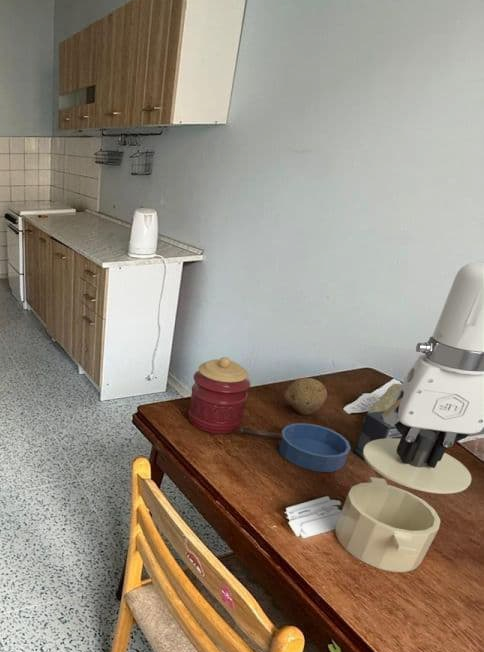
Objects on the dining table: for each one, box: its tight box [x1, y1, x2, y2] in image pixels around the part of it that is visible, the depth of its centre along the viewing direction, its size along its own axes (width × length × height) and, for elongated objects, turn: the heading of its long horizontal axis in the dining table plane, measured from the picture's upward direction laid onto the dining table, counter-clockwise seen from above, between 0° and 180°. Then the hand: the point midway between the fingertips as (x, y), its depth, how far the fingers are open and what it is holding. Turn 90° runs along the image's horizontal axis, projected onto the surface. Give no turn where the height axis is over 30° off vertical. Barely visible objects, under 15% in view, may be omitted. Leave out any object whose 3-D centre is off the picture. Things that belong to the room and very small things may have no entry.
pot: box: [334, 476, 442, 573], centre depth 81 cm, size 13×18×8 cm
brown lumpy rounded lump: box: [284, 377, 328, 416], centre depth 120 cm, size 9×9×10 cm
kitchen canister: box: [187, 356, 251, 435], centre depth 116 cm, size 13×13×18 cm
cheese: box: [363, 382, 402, 421], centre depth 115 cm, size 15×7×15 cm
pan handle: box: [237, 426, 282, 441], centre depth 109 cm, size 10×2×2 cm, turn 70°
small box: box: [352, 411, 429, 461], centre depth 103 cm, size 11×6×10 cm, turn 100°
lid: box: [363, 429, 472, 495], centre depth 74 cm, size 14×14×7 cm
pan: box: [277, 422, 352, 473], centre depth 106 cm, size 13×13×4 cm
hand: (416, 460), depth 74 cm, fingers closed on lid, 2 cm apart
